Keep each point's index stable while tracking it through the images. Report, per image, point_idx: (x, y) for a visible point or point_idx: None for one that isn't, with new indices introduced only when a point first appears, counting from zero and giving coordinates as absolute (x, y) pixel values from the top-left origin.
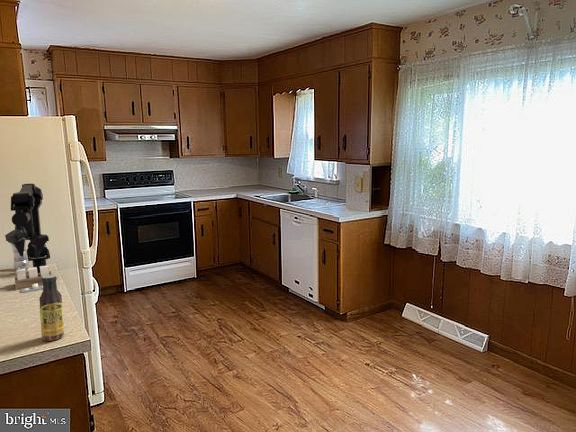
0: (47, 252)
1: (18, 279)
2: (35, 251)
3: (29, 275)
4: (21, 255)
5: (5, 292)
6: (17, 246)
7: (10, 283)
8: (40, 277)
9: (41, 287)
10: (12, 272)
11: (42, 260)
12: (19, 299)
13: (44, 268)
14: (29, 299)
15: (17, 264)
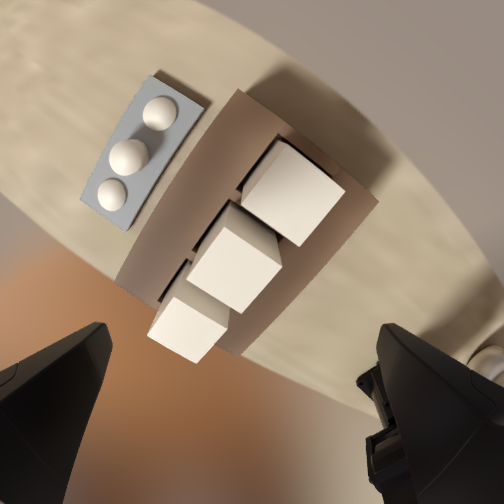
0: (369, 468)
1: (275, 145)
2: (30, 364)
3: (226, 212)
4: (383, 335)
5: (270, 49)
6: (470, 414)
7: (405, 197)
8: (163, 242)
9: (107, 176)
10: (494, 324)
11: (388, 421)
12: (78, 21)
13: (160, 312)
14: (37, 49)
15: (496, 360)
